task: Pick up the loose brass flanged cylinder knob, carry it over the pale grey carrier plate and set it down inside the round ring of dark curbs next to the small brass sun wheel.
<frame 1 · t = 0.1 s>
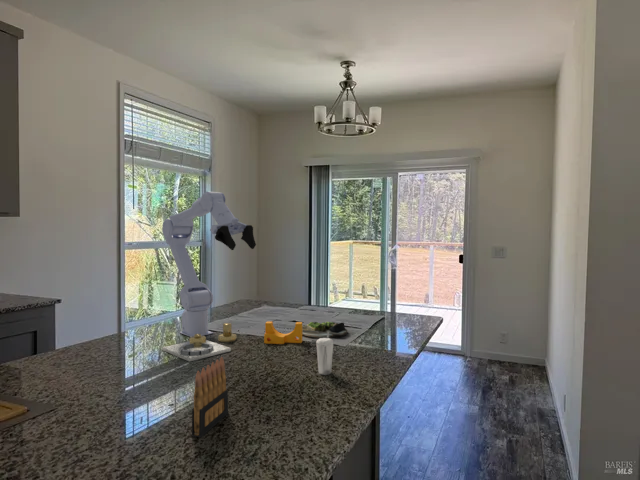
hand: (244, 247, 133), 32 cm above the countertop, tool tilted 50°, fingers open, 7 cm apart
carrier: (196, 350, 133), on the countertop
milkshake: (325, 373, 114), on the countertop
pipe clamp: (283, 343, 143), on the countertop
flanged cylinder knob: (227, 340, 146), on the countertop
salad plate: (324, 334, 156), on the countertop
ammunition clip: (211, 425, 84), on the countertop
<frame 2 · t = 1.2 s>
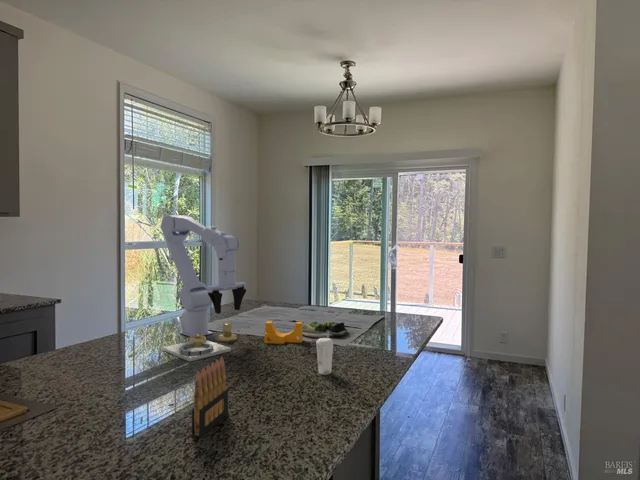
hand: (227, 311, 145), 10 cm above the countertop, tool pointing down, fingers open, 7 cm apart
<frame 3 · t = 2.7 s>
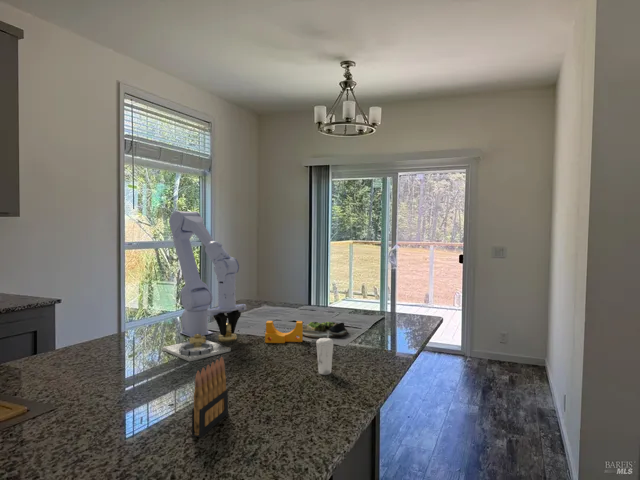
hand: (227, 334, 146), 2 cm above the countertop, tool pointing down, fingers closed on flanged cylinder knob, 3 cm apart
flanged cylinder knob: (227, 339, 146), on the countertop, touching gripper
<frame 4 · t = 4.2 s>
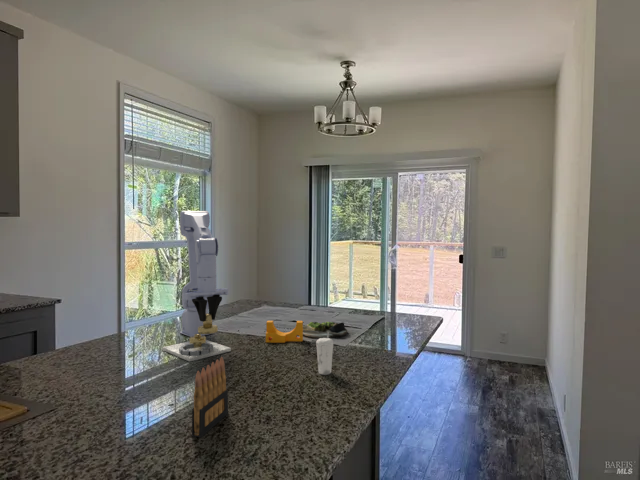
hand: (207, 320, 135), 9 cm above the countertop, tool pointing down, fingers closed on flanged cylinder knob, 3 cm apart
flanged cylinder knob: (207, 331, 135), point 5 cm above the countertop, touching gripper
when the fingers open (4 cm above the countertop, at t = 5.7 s): flanged cylinder knob stays where it is, resting on carrier.
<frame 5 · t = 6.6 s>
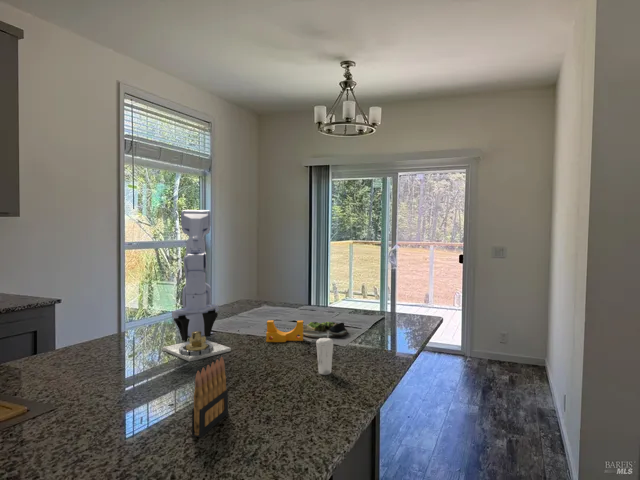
hand: (196, 338, 130), 5 cm above the countertop, tool pointing down, fingers open, 7 cm apart
flanged cylinder knob: (196, 350, 130), point 1 cm above the countertop, touching carrier
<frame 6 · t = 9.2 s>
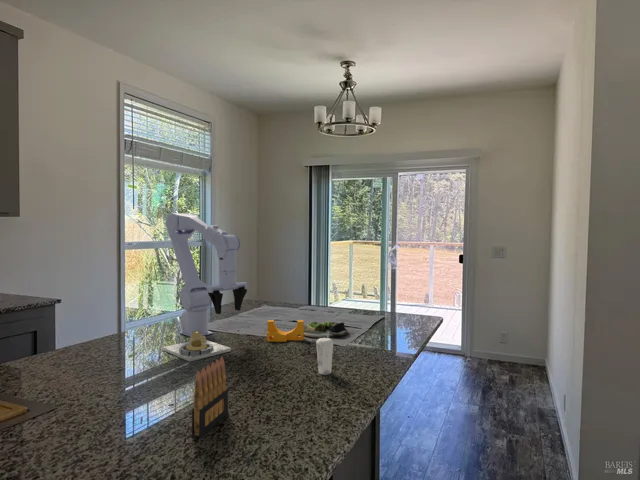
hand: (228, 311, 144), 10 cm above the countertop, tool pointing down, fingers open, 7 cm apart
at the end: flanged cylinder knob 0.1 cm from the target spot on the carrier, point 1.0 cm above the carrier's base; flanged cylinder knob tilted 0°; the gripper is holding nothing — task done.
